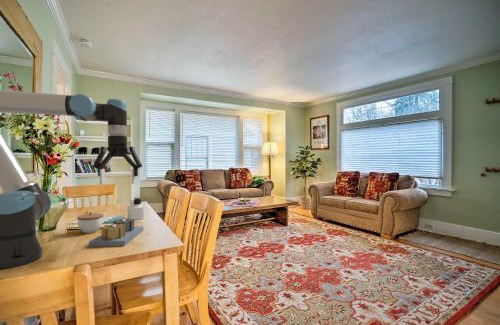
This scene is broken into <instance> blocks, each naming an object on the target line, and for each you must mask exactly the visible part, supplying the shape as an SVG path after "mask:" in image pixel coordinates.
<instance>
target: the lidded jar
mask: <svg viewBox="0 0 500 325" xmlns="http://www.w3.org/2000/svg"><path fill="white" fill-rule="evenodd" d="M88 212H89V213H85V214H80V215H78V216H77V217H76V218H77V225H78V226H77V227H78V228H79V231H82V232H83V233H84V234H92V233H96V232H98V231H99V230H100V229H101V227H103V222H104V213H100V212H92V211H88Z"/></svg>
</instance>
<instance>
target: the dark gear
mask: <svg viewBox="0 0 500 325" xmlns="http://www.w3.org/2000/svg"><path fill="white" fill-rule="evenodd" d="M122 219H123V218H119V219H115V220H113V221H112V224H123V225H125V232H127V231H133V229H134V227H135V220H134V219H131V218H128V217H127V218H124V219H125V220H126V221H122Z"/></svg>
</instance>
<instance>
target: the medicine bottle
mask: <svg viewBox="0 0 500 325" xmlns="http://www.w3.org/2000/svg"><path fill="white" fill-rule="evenodd" d="M144 210H145V209H144V206H142V199H141V198H140V197H133V198H130V199H129V206H127V211H126V212H127V213H126V214H127V218H131V219H134V221H139V220H143V219H144V216H145V215H144V214H145V213H144Z"/></svg>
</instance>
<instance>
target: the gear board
mask: <svg viewBox="0 0 500 325" xmlns="http://www.w3.org/2000/svg"><path fill="white" fill-rule="evenodd" d="M121 219H122V221H126V220H125V219H126V218H121ZM111 225H112V224H111ZM112 227H116V225H112ZM143 231H144V226H143V225H142V226H140V225H139V226H134V229H133V231H127V232H125V236H123V238H117V239H115V240H111V239H107V240H103V238H102V239H101V234H99V235H98V236H95V237H94V238H93V239H91V240H89V241H88V247H125V246H127V244H129V243H130V242H132V240H134V239H135V238H136V237H137V236H139V235H140V234H141V233H142V232H143Z"/></svg>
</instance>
